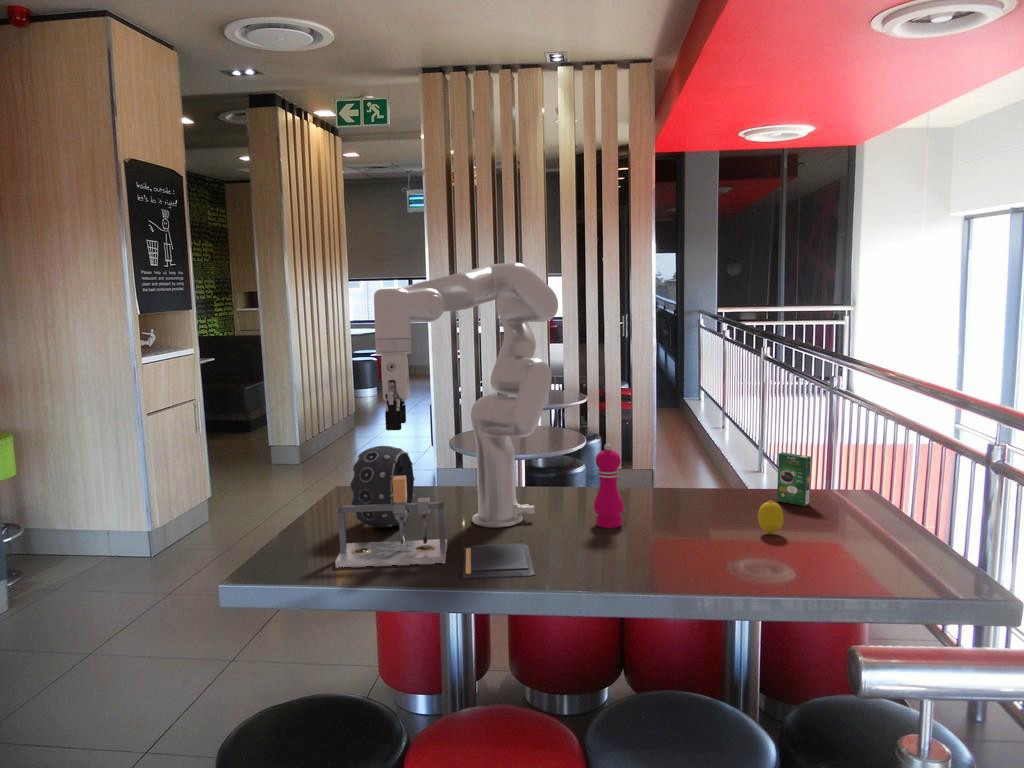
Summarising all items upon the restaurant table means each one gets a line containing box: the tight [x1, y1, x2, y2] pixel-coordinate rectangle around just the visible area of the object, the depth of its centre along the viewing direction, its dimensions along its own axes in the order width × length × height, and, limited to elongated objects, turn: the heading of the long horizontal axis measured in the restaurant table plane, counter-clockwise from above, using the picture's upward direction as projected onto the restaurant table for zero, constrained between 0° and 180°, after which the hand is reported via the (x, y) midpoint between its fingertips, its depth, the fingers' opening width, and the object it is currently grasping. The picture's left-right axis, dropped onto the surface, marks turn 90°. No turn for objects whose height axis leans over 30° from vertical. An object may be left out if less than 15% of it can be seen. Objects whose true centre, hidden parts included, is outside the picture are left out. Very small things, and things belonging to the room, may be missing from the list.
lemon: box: [757, 499, 785, 535], centre depth 175 cm, size 6×6×8 cm
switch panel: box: [334, 497, 448, 569], centre depth 166 cm, size 23×12×12 cm, turn 93°
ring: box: [349, 445, 416, 529], centre depth 190 cm, size 11×20×20 cm, turn 170°
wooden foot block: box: [393, 476, 407, 545], centre depth 166 cm, size 3×4×15 cm
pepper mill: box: [593, 443, 625, 529], centre depth 185 cm, size 7×7×20 cm
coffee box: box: [776, 451, 812, 507], centre depth 200 cm, size 8×3×13 cm, turn 44°
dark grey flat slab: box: [462, 542, 536, 580], centre depth 162 cm, size 20×2×15 cm
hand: (396, 426), depth 164 cm, fingers open, 9 cm apart
